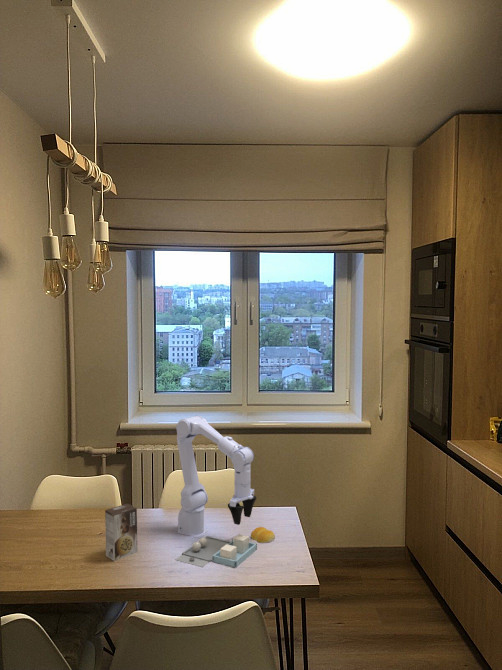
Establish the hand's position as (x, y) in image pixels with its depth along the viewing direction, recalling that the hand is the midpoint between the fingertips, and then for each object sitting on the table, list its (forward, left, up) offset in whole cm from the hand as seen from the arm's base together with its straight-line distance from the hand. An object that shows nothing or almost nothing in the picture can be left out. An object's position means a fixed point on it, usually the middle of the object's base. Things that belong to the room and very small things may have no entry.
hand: (242, 520), depth 185 cm
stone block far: (+1, -3, -9) cm, 10 cm away
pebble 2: (-12, -7, -9) cm, 17 cm away
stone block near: (+2, -12, -9) cm, 15 cm away
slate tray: (-9, -10, -10) cm, 17 cm away
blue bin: (+1, -8, -10) cm, 12 cm away
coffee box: (-34, -25, -10) cm, 43 cm away
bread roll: (+3, +10, -10) cm, 14 cm away
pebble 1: (-12, -11, -9) cm, 19 cm away
